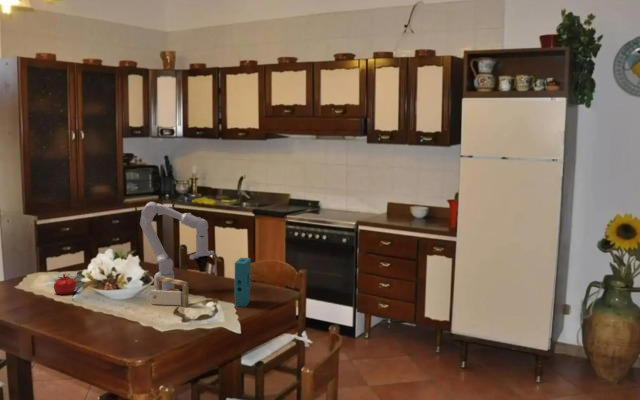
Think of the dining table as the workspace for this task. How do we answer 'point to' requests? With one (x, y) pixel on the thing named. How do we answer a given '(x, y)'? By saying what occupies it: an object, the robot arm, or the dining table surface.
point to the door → (167, 297)
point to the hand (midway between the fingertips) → (202, 271)
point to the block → (242, 281)
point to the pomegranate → (65, 285)
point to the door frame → (174, 281)
